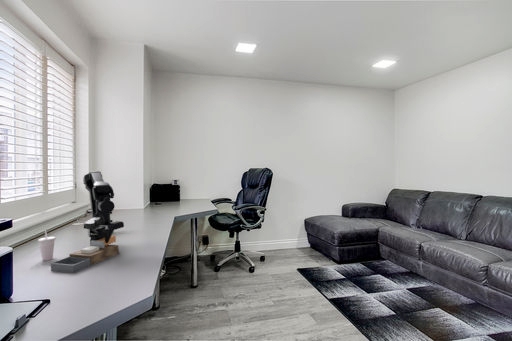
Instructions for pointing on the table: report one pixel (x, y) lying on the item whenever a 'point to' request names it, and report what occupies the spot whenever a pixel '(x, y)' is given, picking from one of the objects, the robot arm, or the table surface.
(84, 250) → the tile
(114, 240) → the scraper
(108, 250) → the tan block
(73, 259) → the box
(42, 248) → the smoothie
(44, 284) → the table surface
